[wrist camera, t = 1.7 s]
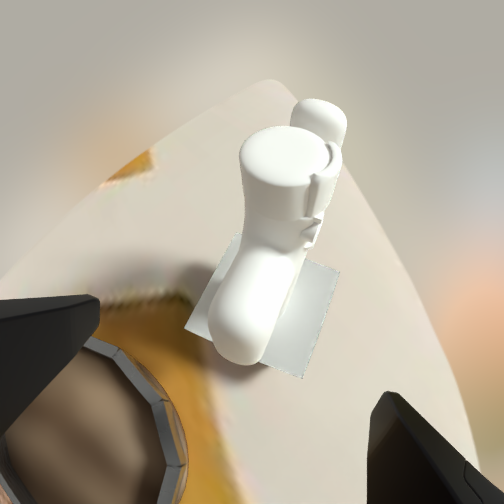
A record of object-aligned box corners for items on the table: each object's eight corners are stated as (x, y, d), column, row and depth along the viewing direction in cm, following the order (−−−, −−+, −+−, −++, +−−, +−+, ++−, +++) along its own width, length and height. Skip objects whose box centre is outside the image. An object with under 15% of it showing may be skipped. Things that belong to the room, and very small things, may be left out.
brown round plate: (161, 570, 11) (159, 574, 10) (-10, 471, 13) (-15, 471, 12) (215, 380, 19) (214, 378, 18) (35, 311, 21) (30, 307, 20)
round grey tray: (156, 572, 10) (149, 583, 9) (-14, 471, 12) (-29, 470, 10) (210, 380, 18) (207, 376, 17) (30, 310, 20) (17, 300, 18)
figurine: (185, 357, 20) (89, 229, 7) (242, 248, 24) (245, 63, 11) (285, 400, 18) (384, 353, 6) (330, 281, 23) (414, 115, 10)
